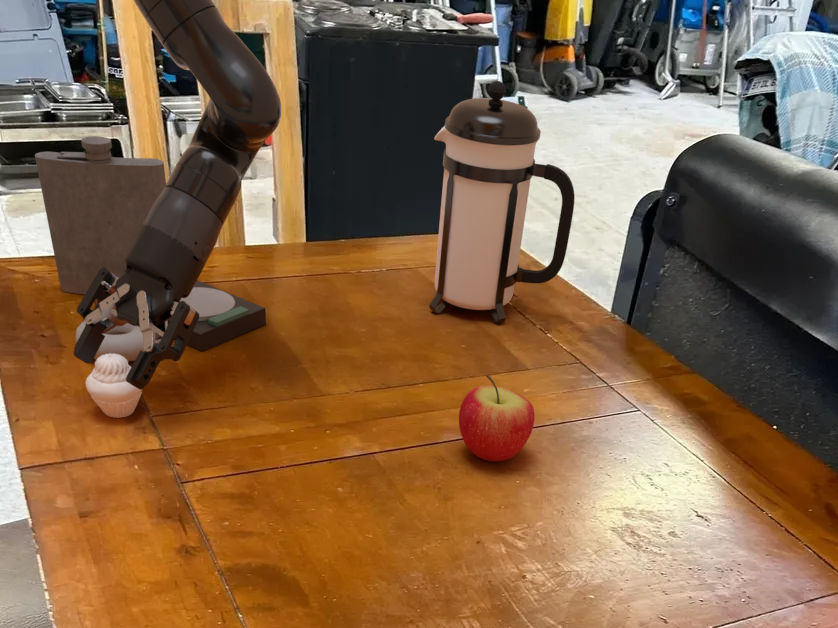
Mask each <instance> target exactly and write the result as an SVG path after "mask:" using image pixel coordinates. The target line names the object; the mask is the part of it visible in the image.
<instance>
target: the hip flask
mask: <svg viewBox="0 0 838 628" xmlns="http://www.w3.org/2000/svg"><path fill="white" fill-rule="evenodd" d="M80 142H81V147H82V148H83V149H84V151H83V152H82V151H81V152H80V151H60V152H58V151H57V152H56V151H40V152H37V153H35V154H34V158H35V163H36V168H37V173H38V178H39V184H40V189H41V193H42V198H43V205H44V209H45V214H46V221H47V225H48V229H49V234H50V239H51V244H52V249H53V250H52V251H53V255H54V261H55V266H56V271H57V277H58V281H59V286H60V290H61V291H62V292H64V293H68V294H73V295H74V294H75V295H83V296H85V294H86V292H87V291H88V289H89V287H90V285H91V284H92V282H93V280H94V278H95V277H96V275H97V273H98V272H99V270H100V269H101V268H103V267H104V268H106V269H108V270H109V271H110V272H112V273H113V274H114V275H115V276H117V277H121V276H122V275H123V274H124V273H125V271H126V269H127V265H126V262H125V256H126V254H127V252H128V250H129V248H130V246H131V244H132V242H133V241H134V239H135V237H136V235H137V233H138V231H139V229H140V227H141V225H142V223H143V221H144V220H145V218H146V216H147V214H148V212H149V210H150V208H151V206H152V205H153V203H154V202H155V200H156V199H157V198H158V196H159V195H160V193H161V192H162V190H163V189H164V187H165V185H166V183H167V181H166V170H165V162H164V160H161V159H158V158H150V157H149V158H144V157H141V158H140V157H112V152H111V149H112V148H113V144H112V140H111V139H110V138H108V137H106V136H105V137H104V136H96V135H95V136H85V137H83V138H81V139H80Z"/></svg>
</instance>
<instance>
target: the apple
mask: <svg viewBox="0 0 838 628" xmlns="http://www.w3.org/2000/svg"><path fill="white" fill-rule="evenodd" d="M485 376H486V378H487V379H488V381H490V382H491V384H492V385H490V384H489V385H488V384H486V385H479V386H476V387H474V388H472V389H471V390H470V391H469V392H468V393H467V394H466V395H465V397H464V398H463V400H462V402H461V404H460V408H459V413H458V427H459V431H460V436H461V438H462V440H463V443H464V444H465V446H466V447H467V448H468V450H469V451H470V452H471V453H472V454H473V455H475V456H476V457H478V459H479V458H480V459H481V460H484V461H487V462H505V461H507V460H510V459H512V458H513V457H515V456H516V455H517V454H518V453H519V452H520V451H521V450H522V449H523V448H524V447H525V445H526V443H527V442H528V441H529V439H530V436H531V434H532V431H533V428H534V425H535V415H536V414H535V408H534V406H533V404H532V403H531V401H530V400H528V399H527V398H526V397H525V396H523V395H521V394H519V393H517V392H515V391H513V390H511V389H508V388H506V387H501V386H497V385H496V383H495V381H494V380H493V378H492V377H491V376H490V375H489V373H486V375H485Z"/></svg>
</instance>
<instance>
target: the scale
mask: <svg viewBox="0 0 838 628" xmlns="http://www.w3.org/2000/svg"><path fill="white" fill-rule="evenodd" d="M181 301H184V302H186V303H187V304H188V305H190V306H191V307H192V308H194V309H195V310H196V311H197V312H198V313H199V319H198V321H197V324H196V326H195V328H194V330H193V332H192V334H191V336H190V339H189V341H188V343H187V345H186V346H188V347H191V348H192V349H195V350H198V351H199V352H205V351H206V350H208V349H211V348H214V347H216V346H218V345H221V344H223V343H226V342H228V341H230V340H232V339H235V338H237V337H239V336H242V335H244V334H247V333H248V332H249V333H250V332H251V331H254V330H257V329H258V328H260V327H264V326H267V315H266V307H264V306H263V305H259V304H257V303H254V302H252V301H250V300H248V299H244V298H242V297H240V296H237V295H234V294H232V293H230V292H228V291H225V290H223V289H221V288H217V287H215V286H213V285H210V284H208V283H206V282H203V281H201V280H198V279H197V281H196V283H195V285H194V287H193V289H192V291H191V293H190V295H189V296H188V297H187V298H181V300H180V302H181ZM170 319H171V318H170ZM170 319H169V320H168V324H169V322H170ZM174 341H176V337H175V339H174Z"/></svg>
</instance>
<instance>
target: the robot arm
mask: <svg viewBox="0 0 838 628" xmlns="http://www.w3.org/2000/svg"><path fill="white" fill-rule="evenodd" d="M133 2H134V4H135V5H136V7H137V8H138V10H139V12H140V13H141V15H142V17H143V18H144V20H145V21H146V23H147V24H148V26H149V27H150V29H151V31H152V32H153V34H154V35H155V37H156V38H157V40H158V41H159V42H160V44H161V46H163V48H164V50H165V52H166V53H167V54H168V56H169V57H170V59H171V60H172V61H173V62H174V63H175V64H176V66H177V67H179V68H180V69H183V70H185V71H186V70H187V71H190V73H192V75H193V76H194V78H195V79H196V80H197V82H198V83H199V84H200V85H201V87H202V88H203V90H204V91H205V93H206V94H207V96H208V97H209V98H210V99H209V100H208V102H207V104H206V107H205V109H204V111H203V113H202V115H201V117H200V119H199V122H198V123H197V126H196V128H195V130H194V133H193V135H192V137H191V140H190V143H189V145H188V147H187V148H186V149H185V151H183V153H182V155H181V156H180V157H179V159H178V161H177V163H176V164H175V166H174V168H173V170H172V172H171V174H170V175H169V177H168V179H167V181H166V185H165V187H164V189H163V190H162V192H161V193H160V195H159V196H158V198H157V199H156V200H155V202H154V203H153V205H152V206H151V208H150V210H149V212H148V214H147V216H146V218H145V220H144V221H143V223H142V225H141V227H140V229H139V231H138V233H137V235H136V237H135V239H134V241H133V242H132V244H131V246H130V248H129V250H128V252H127V254H126V256H125V262H126V265H127V269H126V271H125V273H124V274H123V275H122V276H121V277H117V276H115V275H114V274H113V273H112V272H110V271H109V270H108V269H106V268H104V267H103V268H101V269H100V270H99V272H98V273H97V275H96V277H95V278H94V280H93V282H92V284H91V285H90V287H89V289H88V291H87V292H86V294H85V295H83V297H82V299H81V301H80V302H79V304H78V306H77V308H76V313H77V314H78V315H80V316H81V318H82V319H83V321H84V320H85V323H86V325H85V328H84V330H83V332H82V333H81V335H80V337H79V339H78V341H77V343H76V342H75V344H74V348H73V349H74V350H73V356H74V357H75V358H77V359H78V360H80V361H81V362H84V363H86V364H89V365H90V364H91V363H92V362H93V361H94V360H95V359H94V357H95V355H96V353H97V351H98V349H99V347H100V345H101V344H102V342H103V340H104V338H105V336H104V335H103V334H105V333H107V332H108V331H110V330H111V329H113V328H114V327H116V326H123V325H125V324H126V323H129V324H131V325H133V326H138V327H140V330H141V332H142V334H143V345H144V350H145V351H144V352H143V351H141V350H140V352H139V354H138V356H137V358H136V360H135V361H133V363H132V365H131V366H130V367H131V369H130V371H129V373H128V375H127V377H126V381H127V382H128V383H129V384H131V385H132V386H134V387H136V388H138V389H142V390H143V389H144V388H145V387H146V386H148V384H150V381H151V380H152V378H153V376H154V374H155V372H156V370H157V368H158V366H159V365H160V363H161V362H163V361H165V360H172V361H174V362H179V360H180V359H182V356H183V353H184V352H185V349H186V347H187V346H188V345H187V343H188V341H189V339H190V336H191V334H192V332H193V330H194V328H195V326H196V324H197V321H198V319H199V313H198V312H197V311H196V310H195V309H194V308H192V307H191V306H190V305H188V304H187V303H186V302H184V301H181V302H180V300H181V298H187V297H188V296H189V295H190V293H191V291H192V289H193V287H194V285H195V283H196V281H197V280H198V279H199V277H200V275H201V273H202V272H203V270H204V268H205V266H206V264H207V262H208V259H209V258H210V256H211V254H212V252H213V250H214V249H215V247H216V244H217V242H218V239H219V236H220V233H221V230H222V229H223V226H224V224H225V222H226V221H227V219H228V217H229V215H230V213H231V211H232V209H233V208H234V205H235V204H236V201H237V199H238V197H239V195H240V191H241V189H242V182H243V180H244V177H245V176H246V174H247V172H248V170H249V168H250V167H251V165H252V163H253V162H254V159H255V158H256V156H257V154H258V153H259V151H260V150H261V148H262V146H263V145H264V143H265V142H266V141H267V139H268V138H270V136H271V135H272V134H273V133H274V132H275V131H276V129H277V128H278V126H279V124H280V122H281V116H282V103H281V98H280V95H279V92H278V89H277V88H276V85H275V83H274V81H273V79H272V77H271V76H270V74H269V73H268V71H267V70H266V69H265V67H264V66H263V64H262V63H261V62H260V60H259V59H258V58H257V57H256V56H255V54H254V53H253V52H252V51H251V50H250V48H249V47H248V46H247V44H245V43H244V42H243V40H242V39H241V38H240V37H239V36H238V34H236V32H234V30H232V28H230V26H229V25H228V24H227V23H226V22H225V20H224V18H223V16H222V14H221V12H220V11H219V9H218V7H217V6H216V4H215V3H214V1H213V0H133ZM95 301H97V302H96V304H95V305H94V308H93V309H92V306H93V304H94V303H95ZM104 318H107V319H105V320H104V321H102V319H104ZM170 318H171V319H170ZM169 319H170V322H169V324H168V320H169ZM175 337H176V340H175ZM174 341H175V342H174Z"/></svg>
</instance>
